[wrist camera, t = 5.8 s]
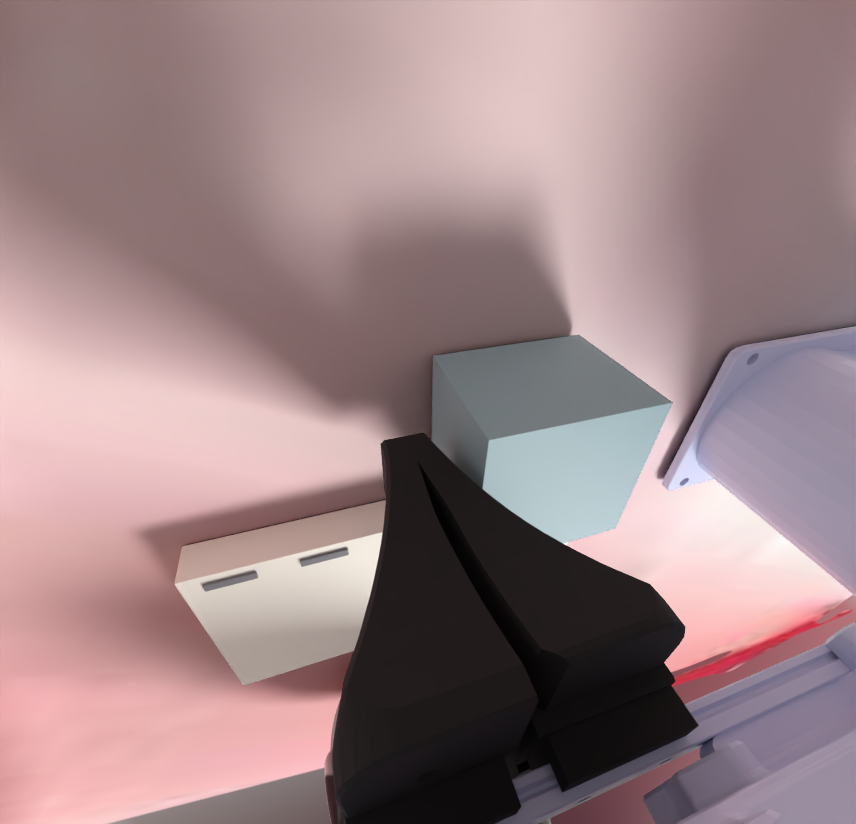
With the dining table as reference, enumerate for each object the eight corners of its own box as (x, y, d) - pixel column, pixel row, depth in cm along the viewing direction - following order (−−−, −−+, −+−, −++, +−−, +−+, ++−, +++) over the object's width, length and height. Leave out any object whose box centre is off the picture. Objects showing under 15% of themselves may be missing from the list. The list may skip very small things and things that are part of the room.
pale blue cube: (578, 334, 13) (672, 402, 10) (549, 449, 16) (615, 528, 13) (432, 355, 12) (489, 440, 9) (430, 475, 15) (471, 569, 12)
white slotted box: (569, 457, 17) (591, 482, 16) (537, 565, 22) (552, 590, 21) (181, 546, 13) (173, 586, 12) (244, 652, 18) (243, 688, 17)
